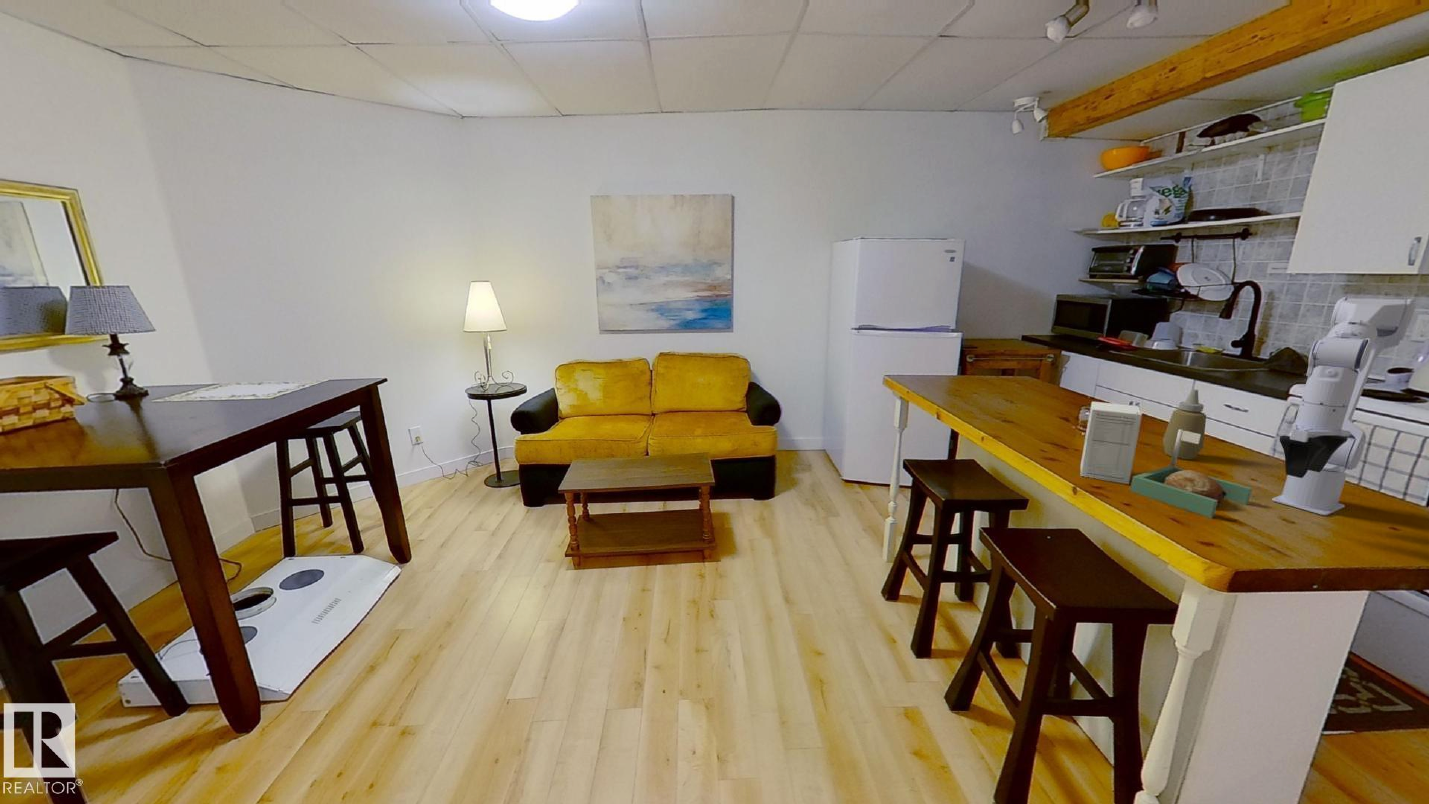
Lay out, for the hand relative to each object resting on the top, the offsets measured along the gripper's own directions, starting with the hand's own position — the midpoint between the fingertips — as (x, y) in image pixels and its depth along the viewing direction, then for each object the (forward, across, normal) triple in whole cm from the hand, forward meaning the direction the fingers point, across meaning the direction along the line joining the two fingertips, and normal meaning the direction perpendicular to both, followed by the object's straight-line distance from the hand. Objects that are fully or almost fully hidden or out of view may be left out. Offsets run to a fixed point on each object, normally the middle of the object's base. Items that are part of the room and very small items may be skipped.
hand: (1303, 473), depth 98 cm
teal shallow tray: (+10, -3, +14) cm, 18 cm away
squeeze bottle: (+10, +27, +29) cm, 41 cm away
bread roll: (+11, -3, +14) cm, 18 cm away
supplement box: (+11, -5, +30) cm, 32 cm away
